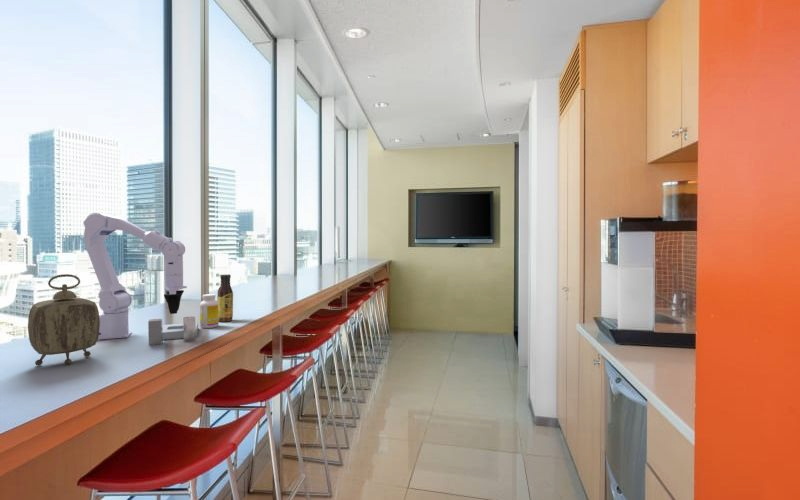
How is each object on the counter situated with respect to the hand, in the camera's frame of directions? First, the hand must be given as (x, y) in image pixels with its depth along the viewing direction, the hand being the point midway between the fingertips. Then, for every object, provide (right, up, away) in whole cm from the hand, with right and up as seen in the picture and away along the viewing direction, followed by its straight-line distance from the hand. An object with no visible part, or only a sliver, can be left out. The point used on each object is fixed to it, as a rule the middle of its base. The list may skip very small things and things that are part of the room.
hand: (174, 311), depth 145 cm
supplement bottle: (+6, -8, +14) cm, 17 cm away
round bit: (+10, -9, -8) cm, 15 cm away
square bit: (+1, -9, -12) cm, 15 cm away
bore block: (0, -8, +1) cm, 9 cm away
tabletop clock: (-12, -10, -33) cm, 36 cm away
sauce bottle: (+7, -8, +25) cm, 28 cm away
